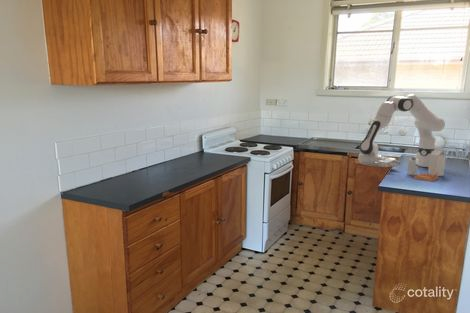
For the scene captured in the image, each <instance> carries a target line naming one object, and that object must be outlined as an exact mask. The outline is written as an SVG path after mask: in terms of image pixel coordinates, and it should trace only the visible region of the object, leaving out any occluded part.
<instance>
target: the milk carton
mask: <svg viewBox="0 0 470 313" xmlns="http://www.w3.org/2000/svg"><path fill="white" fill-rule="evenodd" d="M434 148H435V150H434V151H433V152H431V153H430V161H429V167H428V171H427V174H428V175H432V174H434V173H437V177H442V176H444V175H445V166H446V159H447V154H446V152H444V150H443V149H441V148H437V147H434Z"/></svg>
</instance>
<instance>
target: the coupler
mask: <svg viewBox="0 0 470 313" xmlns="http://www.w3.org/2000/svg"><path fill="white" fill-rule="evenodd" d="M413 179H414V180H420V181H426V182H435V181H436V180H437V179H439V176H437V173H434V174H432V175H430V174H428V173H418V174H416V175H414V176H413Z"/></svg>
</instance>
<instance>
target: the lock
mask: <svg viewBox="0 0 470 313" xmlns="http://www.w3.org/2000/svg"><path fill="white" fill-rule="evenodd" d="M407 164H408V165H407V175H409V176H410V175H411V176H416V175H418V167H419V166H418V159H416V158H415V157H413V156H412V157H411V158H409V159H408V163H407Z"/></svg>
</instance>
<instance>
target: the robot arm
mask: <svg viewBox="0 0 470 313" xmlns="http://www.w3.org/2000/svg"><path fill="white" fill-rule="evenodd" d="M396 111H397V112H403V113H404V112H409V113H410V115H412V117H413V118H414V119H415V120H414V126H415V127H416V129H417V131H418V134H419V135H418V136H419V144H418V148H417V152H416V153H415V155H414V158H416V159H418V167H423V168H429V161H430V153H431V152H433V151H434V150H435V148H436V147H435V146H436V137H435V136H434V135H433V132H441V131H443V130H444V128H445V126H446V122H445V120H444V119H443V118H442V117H441V118H440V117H439V116H438V115H436V114H435V113H433V112H432V111H431V110H430V109H429V108H428V107H427V106H426V105H425V104H424V103H423V102H422V100H421V99H420V98H419V97H418V96H417V95H416V94H413V93H410V94H408V95H406V96H403V95H402V96H401V95H391V96H388V98H387V99H386V101H383V102H382V103H381V104H380V106H379V107H378V110H377V111H376V114H375V117H374V120H373V122H372V124H371V125H370V127H369V129H368V131H367V133H366V135H365V137H364V138H363V140H362V141H361V142H360V143H359V145H358V146H359V147H358V148H359V151H360V153H359V154H358V158H357V159H358V162H359V163H360V164H362V165H364V166H373V167H376V168H388V167H397V165H401V164H402V162H401V161H399V160H397V158H394V157H390V156H387V155H381V154H380V155H379V154H378V153H379V145H378V144H377V143H376V142H375V138H376V137H377V134H378V132H380V130H382V129H385V128H386V127H388V126H389V124H390V123H391V121H392V118H393V114H394V113H395V112H396Z"/></svg>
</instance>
